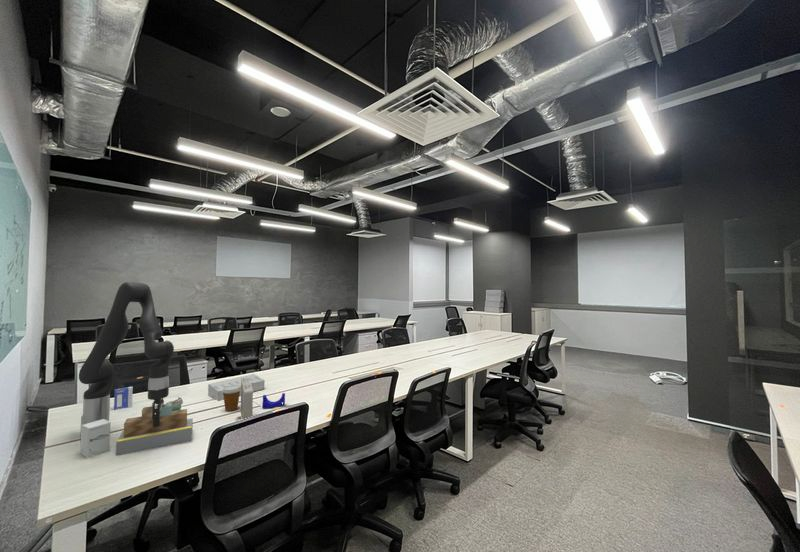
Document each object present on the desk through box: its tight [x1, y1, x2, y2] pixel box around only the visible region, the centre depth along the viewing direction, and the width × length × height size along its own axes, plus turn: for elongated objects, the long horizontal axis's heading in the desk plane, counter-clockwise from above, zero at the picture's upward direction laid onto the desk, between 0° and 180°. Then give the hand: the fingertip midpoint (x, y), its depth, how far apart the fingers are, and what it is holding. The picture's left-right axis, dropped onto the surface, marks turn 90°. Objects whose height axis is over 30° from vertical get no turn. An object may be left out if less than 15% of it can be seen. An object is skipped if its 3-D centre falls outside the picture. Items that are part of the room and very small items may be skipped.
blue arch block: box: [262, 392, 286, 409], centre depth 188 cm, size 12×4×6 cm, turn 107°
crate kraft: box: [141, 405, 152, 420], centre depth 141 cm, size 4×4×4 cm
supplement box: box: [79, 419, 111, 459], centre depth 134 cm, size 7×7×13 cm
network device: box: [234, 378, 254, 422], centre depth 164 cm, size 26×9×20 cm, turn 30°
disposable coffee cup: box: [222, 385, 241, 411], centre depth 183 cm, size 10×10×12 cm
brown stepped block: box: [123, 408, 188, 438], centre depth 143 cm, size 22×6×6 cm, turn 121°
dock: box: [115, 418, 194, 456], centre depth 143 cm, size 26×12×6 cm, turn 121°
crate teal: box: [160, 403, 172, 417], centre depth 145 cm, size 4×4×4 cm
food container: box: [165, 396, 184, 411], centre depth 166 cm, size 12×6×10 cm, turn 168°
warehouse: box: [207, 373, 265, 402], centre depth 212 cm, size 30×14×8 cm, turn 142°
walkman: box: [113, 386, 134, 411], centre depth 182 cm, size 8×3×12 cm, turn 134°
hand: (157, 423), depth 143 cm, fingers open, 8 cm apart
